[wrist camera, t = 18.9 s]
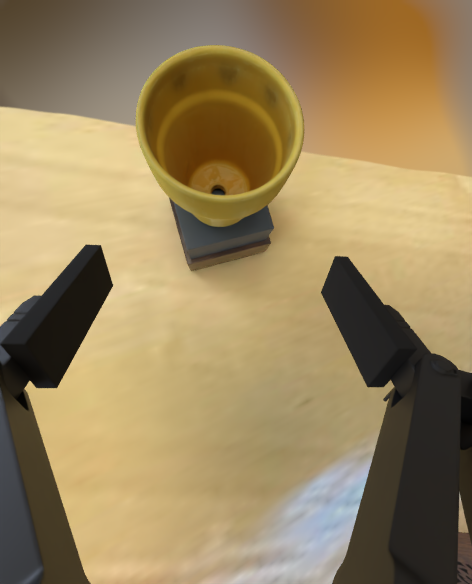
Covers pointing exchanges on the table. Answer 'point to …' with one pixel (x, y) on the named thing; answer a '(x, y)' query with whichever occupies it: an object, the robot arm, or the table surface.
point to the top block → (222, 231)
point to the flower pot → (219, 131)
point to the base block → (220, 256)
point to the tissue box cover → (464, 559)
